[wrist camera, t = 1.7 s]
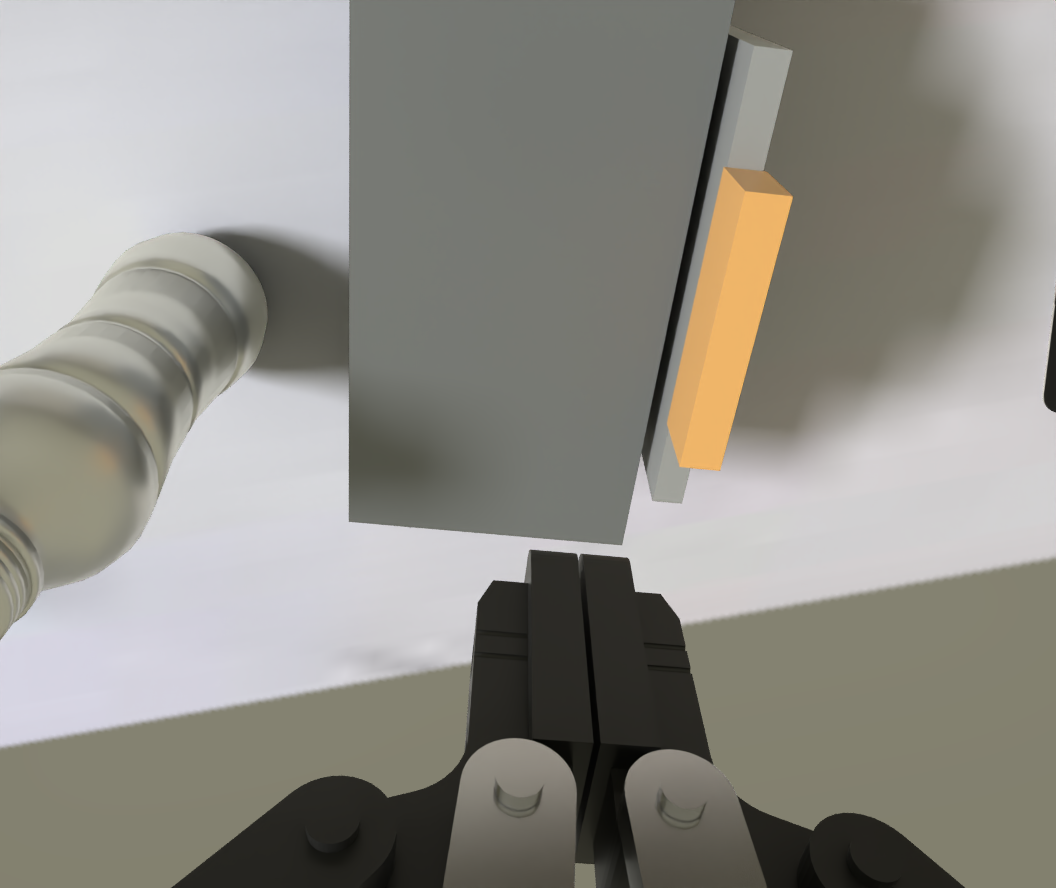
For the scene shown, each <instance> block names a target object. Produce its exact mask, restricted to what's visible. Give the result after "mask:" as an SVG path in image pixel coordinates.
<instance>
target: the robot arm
mask: <svg viewBox="0 0 1056 888" xmlns="http://www.w3.org/2000/svg"><path fill="white" fill-rule="evenodd" d="M575 863H584V864H585V863H586V864H595V877H596V888H965V887H964V886H962V885H961V884H960V883H959V882H958V881H956V880H955V879H954V878H953V877H952V876H951V875H949V874H948V873H947V872H946V871H945V870H943V869H942V868H941V867H940V866H939V865H937V864H936V863H935V862H934V861H933V860H932V859H930V858H929V857H928V856H927V855H926V854H924V853H923V852H922V851H921V850H920V849H919V848H917V847H916V846H915V845H914V844H913V843H911V842H910V841H909V840H908V839H907V838H905V837H904V836H903V835H902V834H900V833H899V832H898V831H896V830H895V829H894V828H892V827H890V826H889V825H887V824H885V823H883V822H881V821H879V820H877V819H875V818H872V817H868V816H865V815H861V814H855V813H840V814H834V815H832V816H829V817H827V818H825V819H824V820H822V821H821V822H820V823H819V824H818V825H817V826H816V827H815V829H814V831H812V830H809V829H807V828H804V827H801V826H799V825H796V824H793V823H790V822H788V821H785V820H782V819H779V818H777V817H774V816H771V815H769V814H766V813H764V812H762V811H759V810H758V809H756V808H754V807H752V806H750V805H749V804H747V803H746V802H745V801H743V800H742V799H740V798H739V797H738V796H737V795H736V792H735V790H734V788H733V786H732V785H731V783H730V782H729V780H728V779H727V778H726V777H725V775H724V774H723V773H722V772H721V771H720V770H719V769H718V768H716V767H715V766H714V765H713V762H712V759H711V755H710V752H709V747H708V742H707V738H706V734H705V729H704V725H703V721H702V716H701V712H700V707H699V703H698V698H697V694H696V690H695V685H694V681H693V677H692V674H690V663H689V659H688V655H687V651H685V641H684V637H683V633H682V628H681V624H680V619H679V618H678V616H677V615H676V614H675V612H674V611H673V610H672V608H671V607H670V606H669V605H668V603H667V602H666V601H665V599H664V598H663V597H662V595H661V594H654V593H642V592H635V589H634V583H633V577H632V571H631V565H630V561H629V559H628V558H624V557H612V556H601V555H589V554H581V555H580V557H579V560H578V557H577V554H575V553H563V552H551V551H540V550H529V554H528V560H527V567H526V574H525V582H524V583H519V582H507V581H495V580H493V582H492V583H491V585H490V586H489V587H488V589H487V590H486V592H485V593H484V595H483V596H482V597H481V599H480V600H479V602H478V606H477V616H476V626H475V635H474V645H473V655H472V664H471V674H470V687H469V700H468V714H467V728H466V741H465V753H464V755H463V757H462V759H461V760H460V762H459V764H458V765H457V766H456V767H455V768H454V770H453V771H452V772H451V773H449V774H448V775H447V776H446V777H445V778H443V779H442V780H440V781H439V782H437V783H435V784H433V785H431V786H429V787H427V788H424V789H421V790H418V791H414V792H410V793H406V794H402V795H397V796H393V797H389V798H387V797H386V796H385V794H384V793H383V792H382V791H381V790H380V789H378V788H377V787H375V786H374V785H372V784H371V783H369V782H367V781H364V780H362V779H358V778H355V777H349V776H330V777H324V778H320V779H317V780H314V781H311V782H309V783H307V784H304V785H303V786H301V787H299V788H298V789H296V790H295V791H293V792H292V793H291V794H289V795H288V796H287V797H286V798H284V799H283V800H282V801H281V802H279V803H278V804H277V805H275V806H274V807H273V808H272V809H270V810H269V811H268V812H267V813H265V814H264V815H263V816H262V817H260V818H259V819H258V820H256V821H255V822H254V823H253V824H251V825H250V826H249V827H248V828H246V829H245V830H244V831H242V832H241V833H240V834H239V835H238V836H236V837H235V838H234V839H232V840H231V841H230V842H229V843H227V844H226V845H225V846H224V847H222V848H221V849H220V850H219V851H217V852H216V853H215V854H214V855H212V856H211V857H210V858H208V859H207V860H206V861H205V862H203V863H202V864H201V865H200V866H198V867H197V868H196V869H195V870H193V871H192V872H191V873H189V874H188V875H187V876H186V877H185V878H183V879H182V880H181V881H179V882H178V883H177V884H176V885H175V886H173V887H172V888H574V886H575Z"/></svg>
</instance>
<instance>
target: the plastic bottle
mask: <svg viewBox="0 0 1056 888" xmlns="http://www.w3.org/2000/svg"><path fill="white" fill-rule="evenodd" d="M267 321H268V312H267V302H266V298H265V293H264V291H263V288H262V286H261V284H260V281H259V279H258V278H257V276H256V275H255V273H254V271H253V270H252V268H251V267H250V266H249V265H248V264H247V263H246V262H245V260H244V259H243V258H242V257H241V256H240V255H239V254H237V253H236V252H235V251H233V250H232V249H231V248H229V247H228V246H227V245H225V244H223V243H221V242H219V241H217V240H215V239H213V238H210V237H207V236H203V235H200V234H195V233H186V232H179V233H168V234H165V235H162V236H158V237H155V238H152V239H149V240H146V241H143V242H140V243H138V244H136V245H135V246H133V247H131V248H130V249H128V250H126V251H125V252H124V253H123V254H122V255H121V256H120V257H119V258H118V259H117V260H116V261H115V262H114V263H113V265H112V266H111V267H110V269H109V270H108V271H107V273H106V274H105V276H104V277H103V279H102V280H101V282H100V284H99V285H98V287H97V289H96V291H95V293H94V295H93V296H92V298H91V299H90V300H89V301H88V302H87V303H86V304H85V306H84V307H83V308H82V309H81V310H80V311H79V312H78V313H77V315H76V316H75V317H74V318H73V319H72V320H71V321H70V322H69V323H68V324H66V325H65V326H63V327H62V328H61V329H59V330H58V331H57V332H56V333H54V334H52V335H51V336H49V337H48V338H47V339H45V340H44V341H42V342H41V343H40V344H38V345H37V346H35V347H34V348H33V349H31V350H30V351H28V352H26V353H24V354H22V355H20V356H18V357H16V358H14V359H12V360H10V361H8V362H6V363H4V364H3V365H1V366H0V640H1V639H2V637H3V636H4V635H5V633H6V632H7V631H8V629H9V628H10V627H11V625H12V624H13V623H14V622H16V621H17V620H19V619H20V618H21V617H22V616H24V615H25V614H26V612H27V611H28V610H29V609H30V607H31V606H32V605H33V603H34V602H35V601H36V599H37V598H38V596H39V595H40V593H41V591H44V590H48V589H52V588H56V587H60V586H64V585H68V584H71V583H75V582H79V581H83V580H85V579H87V578H89V577H91V576H94V575H96V574H98V573H99V572H101V571H102V570H103V569H105V568H106V567H108V566H109V565H110V564H112V563H113V562H115V561H116V560H117V559H119V558H120V557H121V556H122V555H124V554H125V553H126V552H128V551H129V550H130V549H131V548H132V547H133V545H134V544H135V543H136V541H137V540H138V539H139V538H140V536H141V534H142V532H143V530H144V528H145V526H146V525H147V523H148V521H149V519H150V517H151V515H152V512H153V510H154V507H155V505H156V502H157V499H158V497H159V494H160V492H161V489H162V486H163V484H164V481H165V479H166V476H167V474H168V471H169V468H170V466H171V463H172V461H173V459H174V457H175V455H176V453H177V452H178V450H179V448H180V446H181V445H182V443H183V441H184V439H185V437H186V435H187V433H188V432H189V430H190V429H191V427H192V425H193V423H194V422H195V420H196V419H197V418H198V417H199V416H200V415H201V414H202V412H203V411H204V410H205V409H206V408H207V407H208V406H209V405H210V404H211V403H212V401H213V400H214V399H215V398H216V397H217V396H219V395H220V394H222V393H223V392H224V391H226V390H227V389H228V388H229V387H231V386H232V385H233V384H234V383H235V382H237V381H238V380H239V379H240V378H241V377H242V376H243V375H244V374H245V373H246V372H247V371H248V370H249V369H250V367H251V366H252V365H253V363H254V362H255V361H256V359H257V357H258V354H259V352H260V350H261V348H262V344H263V339H264V335H265V331H266V326H267Z"/></svg>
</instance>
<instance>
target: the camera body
mask: <svg viewBox="0 0 1056 888" xmlns="http://www.w3.org/2000/svg"><path fill="white" fill-rule="evenodd" d="M734 4H735V0H350V73H349V522H358V523H370V524H381V525H393V526H404V527H416V528H428V529H439V530H451V531H462V532H474V533H486V534H497V535H509V536H521V537H532V538H544V539H555V540H567V541H579V542H590V543H602V544H613V545H622V543H623V538H624V533H625V528H626V524H627V519H628V514H629V509H630V504H631V500H632V495H633V490H634V485H635V480H636V475H637V471H638V466H639V461H640V456H641V451H642V447H643V442H644V437H645V432H646V427H647V423H648V418H649V413H650V408H651V403H652V399H653V394H654V389H655V384H656V379H657V375H658V370H659V365H660V360H661V355H662V351H663V346H664V341H665V336H666V331H667V326H668V322H669V317H670V312H671V307H672V302H673V298H674V293H675V288H676V283H677V278H678V274H679V269H680V264H681V259H682V254H683V250H684V245H685V240H686V235H687V230H688V226H689V221H690V216H691V211H692V206H693V201H694V197H695V192H696V187H697V182H698V177H699V173H700V168H701V163H702V158H703V153H704V149H705V144H706V139H707V134H708V129H709V125H710V120H711V115H712V110H713V105H714V101H715V96H716V91H717V86H718V81H719V77H720V72H721V67H722V62H723V57H724V52H725V48H726V43H727V38H728V33H729V28H730V24H731V19H732V14H733V9H734Z"/></svg>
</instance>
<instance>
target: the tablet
mask: <svg viewBox="0 0 1056 888" xmlns="http://www.w3.org/2000/svg"><path fill="white" fill-rule="evenodd" d="M1043 402H1044V404H1045V405H1046V407H1047V408H1048V409H1050V410H1051V411H1053V412H1056V284H1055V292H1054V301H1053V309H1052V318H1051V326H1050V335H1049V344H1048V352H1047V361H1046V369H1045V378H1044V386H1043Z"/></svg>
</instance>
